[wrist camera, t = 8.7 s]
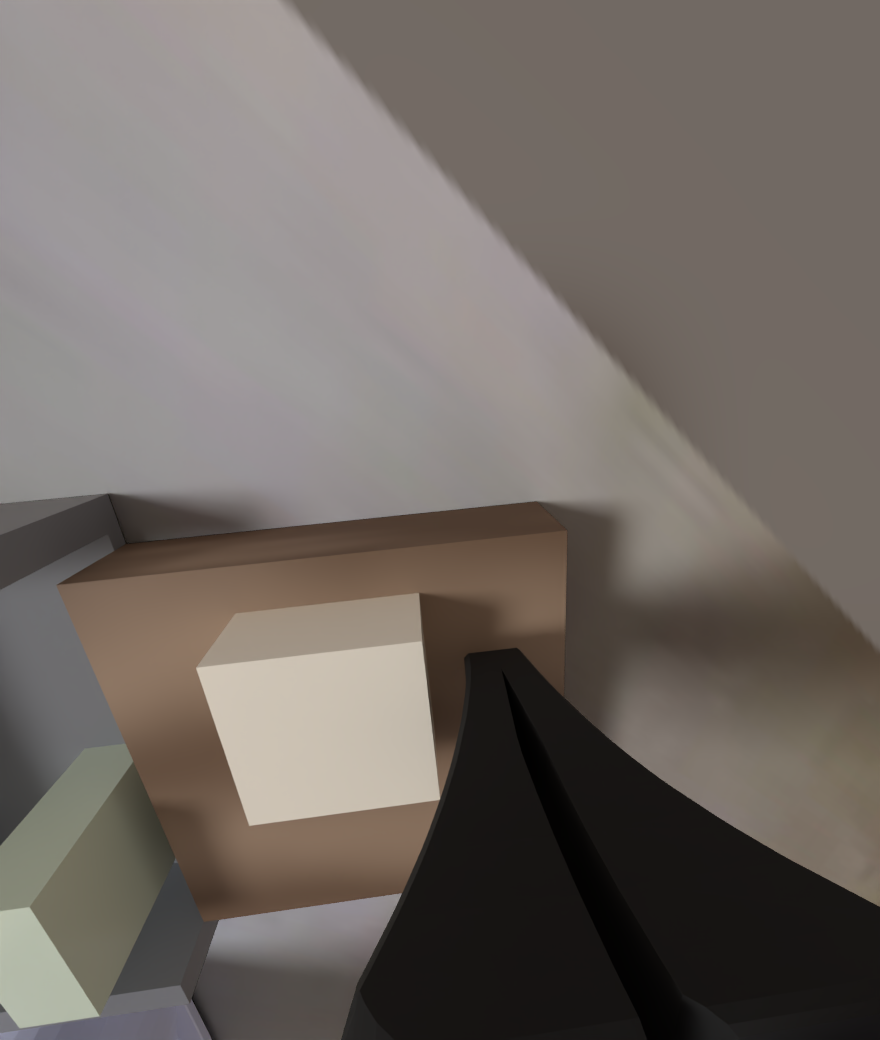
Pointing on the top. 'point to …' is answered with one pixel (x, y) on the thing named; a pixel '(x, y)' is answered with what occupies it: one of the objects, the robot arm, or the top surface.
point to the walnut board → (291, 583)
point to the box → (74, 724)
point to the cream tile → (324, 708)
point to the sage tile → (78, 889)
